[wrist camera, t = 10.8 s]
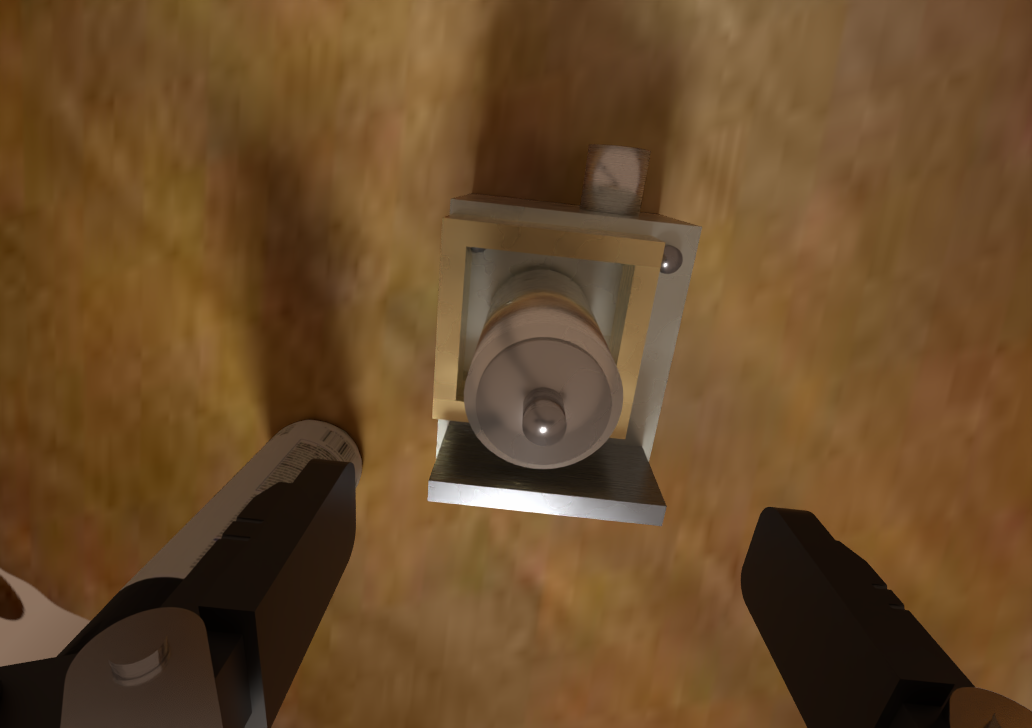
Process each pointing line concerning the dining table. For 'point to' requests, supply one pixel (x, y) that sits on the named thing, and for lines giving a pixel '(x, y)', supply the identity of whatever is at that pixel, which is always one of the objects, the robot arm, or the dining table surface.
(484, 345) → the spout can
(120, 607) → the spray can
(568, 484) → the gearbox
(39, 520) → the dining table surface
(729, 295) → the dining table surface
